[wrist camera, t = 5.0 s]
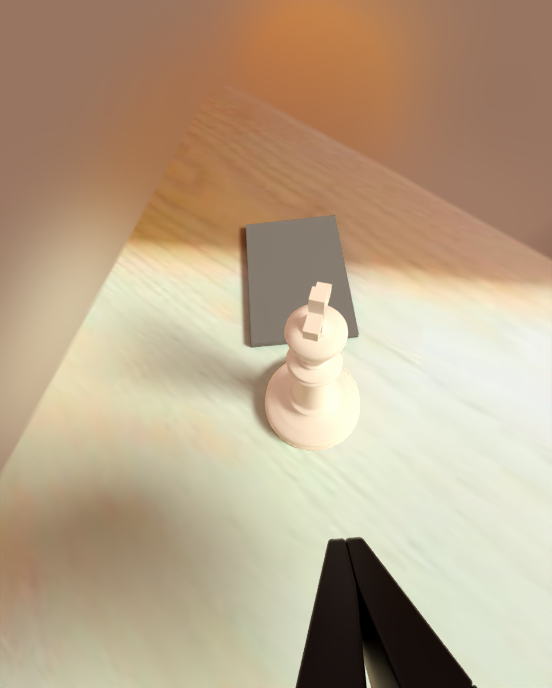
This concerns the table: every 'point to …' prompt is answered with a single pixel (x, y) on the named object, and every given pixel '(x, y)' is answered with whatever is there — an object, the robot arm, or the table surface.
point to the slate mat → (293, 274)
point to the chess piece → (313, 379)
